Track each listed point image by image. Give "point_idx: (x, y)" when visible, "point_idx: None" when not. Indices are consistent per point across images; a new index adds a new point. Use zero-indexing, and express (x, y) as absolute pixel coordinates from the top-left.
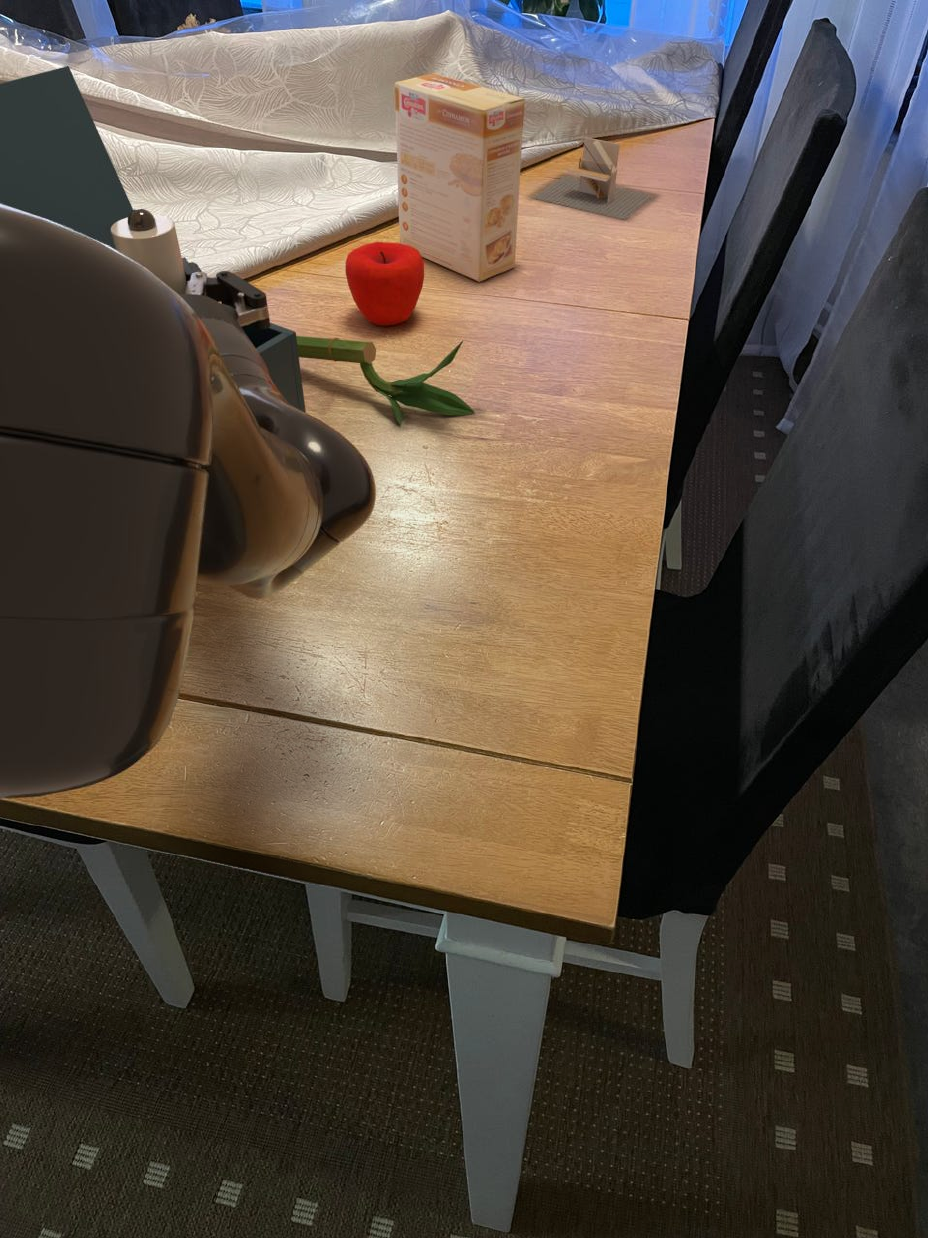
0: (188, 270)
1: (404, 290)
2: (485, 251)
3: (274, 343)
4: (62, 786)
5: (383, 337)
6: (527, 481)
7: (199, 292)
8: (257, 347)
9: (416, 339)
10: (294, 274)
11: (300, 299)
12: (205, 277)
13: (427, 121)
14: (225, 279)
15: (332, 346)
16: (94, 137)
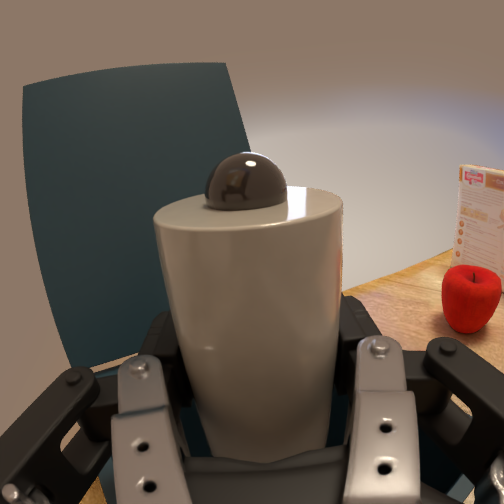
0: (347, 325)
1: (492, 307)
2: None
3: None
4: None
5: (466, 345)
6: None
7: (408, 482)
8: (448, 492)
9: (491, 348)
10: (385, 281)
11: (393, 302)
12: (400, 361)
13: (484, 187)
14: (460, 374)
15: None
16: (235, 124)
